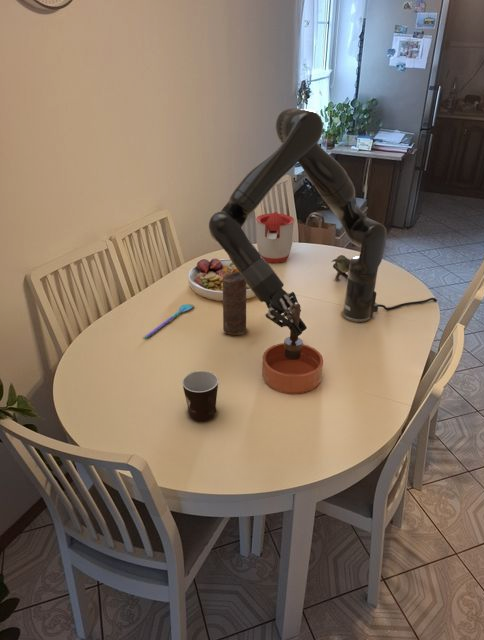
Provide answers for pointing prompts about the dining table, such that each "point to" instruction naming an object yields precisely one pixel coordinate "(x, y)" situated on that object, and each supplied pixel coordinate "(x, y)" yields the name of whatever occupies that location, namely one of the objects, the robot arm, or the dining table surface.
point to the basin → (292, 369)
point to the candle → (234, 303)
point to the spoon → (181, 309)
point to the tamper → (294, 337)
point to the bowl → (212, 278)
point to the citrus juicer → (274, 236)
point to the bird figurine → (341, 266)
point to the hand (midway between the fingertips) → (301, 332)
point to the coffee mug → (201, 394)
